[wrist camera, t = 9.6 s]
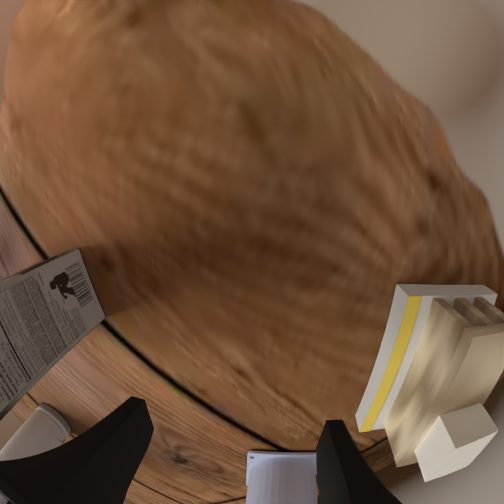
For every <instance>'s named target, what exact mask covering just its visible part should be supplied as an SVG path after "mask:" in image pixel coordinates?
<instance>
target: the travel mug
mask: <svg viewBox="0 0 504 504" xmlns="http://www.w3.org/2000/svg"><path fill="white" fill-rule="evenodd" d="M70 433H71V428H70V426H69V424H68V423H67V421H66V420H65V419H64V418H63V417H62V416H61V415H60V414H59V413H58V412H57V411H56V410H55V409H53V408H52V407H51V406H49V405H47V404H44V403H42V404H40V405H39V407H38V408H37V409H36V410H35V411H34V412H33V413H32V414H31V416H30V417H29V418H28V419H27V420H26V421H25V422H24V424H23V425H22V426H21V427H20V428H19V429H18V431H17V432H16V433H15V434H14V436H13V437H12V438H11V439H10V440H9V441H8V443H7V444H6V445H5V446H4V448H3V449H2V450H1V451H0V461H5V460H14V459H20V458H25V457H29V456H33V455H37V454H40V453H43V452H46V451H48V450H51V449H53V448H56V447H58V446H60V445H62V444H63V442H64V441H65V440H66V438H67V437H68V435H69V434H70Z"/></svg>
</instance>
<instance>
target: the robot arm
mask: <svg viewBox="0 0 504 504" xmlns="http://www.w3.org/2000/svg"><path fill="white" fill-rule="evenodd" d="M153 431H154V427H153V424H152V421H151V418H150V415H149V412H148V409H147V406H146V403H145V400H144V399H140V398H136V397H133V396H132V397H130V398H129V399H128V400H126V401H125V402H124V403H123V404H121V405H120V406H119V407H118V408H116V409H115V410H114V411H113V412H111V413H110V414H109V415H108V416H106V417H105V418H104V419H102V420H101V421H100V422H98V423H97V424H96V425H94V426H93V427H91V428H90V429H88V430H87V431H85V432H84V433H82V434H81V435H79V436H77V437H76V438H74V439H72V440H70V441H68V442H66V443H64V444H62V445H60V446H58V447H56V448H53V449H51V450H48V451H46V452H43V453H40V454H37V455H33V456H29V457H25V458H20V459H14V460H5V461H0V504H123V502H124V499H125V496H126V493H127V490H128V488H129V486H130V483H131V481H132V479H133V477H134V475H135V473H136V471H137V469H138V467H139V465H140V463H141V461H142V459H143V457H144V455H145V453H146V451H147V449H148V446H149V443H150V440H151V437H152V434H153ZM316 474H317V478H318V486H319V495H320V503H321V504H402V503H401V502H400V501H399V500H398V499H397V498H396V497H395V496H394V495H393V494H392V493H391V492H390V491H389V490H388V489H387V488H386V487H385V485H384V484H383V483H382V482H381V481H380V479H379V478H378V477H377V476H376V474H375V473H374V471H373V470H372V469H371V467H370V466H369V464H368V463H367V461H366V460H365V458H364V457H363V455H362V454H361V452H360V451H359V449H358V447H357V446H356V444H355V442H354V440H353V439H352V437H351V435H350V433H349V431H348V429H347V427H346V425H345V423H344V421H343V420H326V423H325V426H324V428H323V431H322V434H321V437H320V439H319V442H318V444H317V447H316V452H266V451H248V454H247V476H246V485H247V486H248V490H247V497H246V504H317V487H316Z"/></svg>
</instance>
